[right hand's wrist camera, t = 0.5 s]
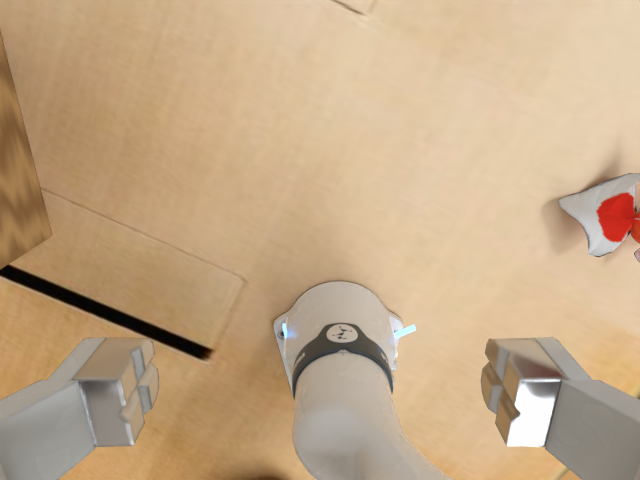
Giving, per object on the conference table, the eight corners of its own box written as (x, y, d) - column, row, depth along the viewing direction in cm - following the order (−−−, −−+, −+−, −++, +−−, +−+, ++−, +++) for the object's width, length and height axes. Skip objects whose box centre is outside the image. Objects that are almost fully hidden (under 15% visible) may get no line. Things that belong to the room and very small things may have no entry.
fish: (638, 297, 57) (686, 296, 47) (529, 231, 61) (553, 217, 51) (685, 230, 57) (743, 215, 47) (574, 167, 61) (606, 142, 51)
